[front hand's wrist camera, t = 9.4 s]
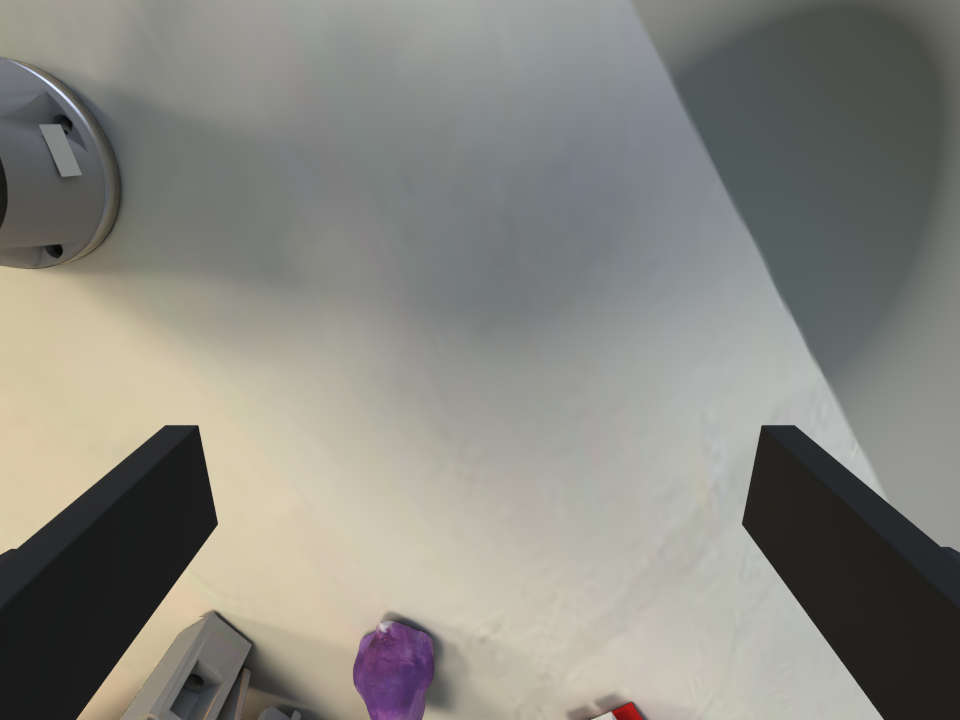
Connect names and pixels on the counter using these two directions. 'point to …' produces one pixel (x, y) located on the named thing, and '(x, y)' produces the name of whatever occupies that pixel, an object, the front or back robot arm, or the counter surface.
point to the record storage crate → (200, 678)
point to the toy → (621, 714)
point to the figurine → (394, 671)
